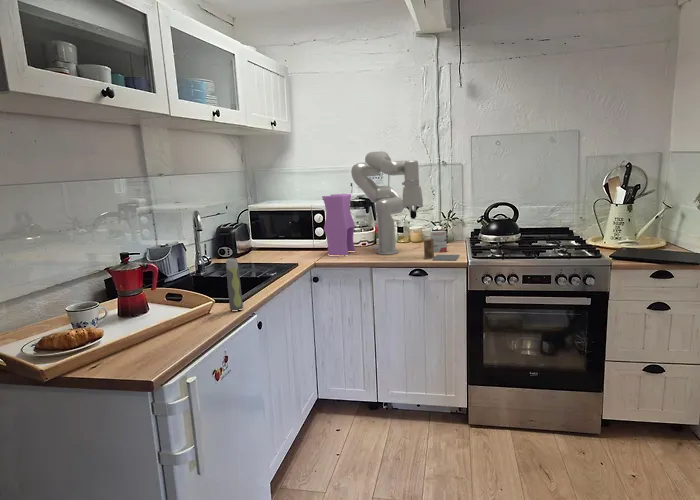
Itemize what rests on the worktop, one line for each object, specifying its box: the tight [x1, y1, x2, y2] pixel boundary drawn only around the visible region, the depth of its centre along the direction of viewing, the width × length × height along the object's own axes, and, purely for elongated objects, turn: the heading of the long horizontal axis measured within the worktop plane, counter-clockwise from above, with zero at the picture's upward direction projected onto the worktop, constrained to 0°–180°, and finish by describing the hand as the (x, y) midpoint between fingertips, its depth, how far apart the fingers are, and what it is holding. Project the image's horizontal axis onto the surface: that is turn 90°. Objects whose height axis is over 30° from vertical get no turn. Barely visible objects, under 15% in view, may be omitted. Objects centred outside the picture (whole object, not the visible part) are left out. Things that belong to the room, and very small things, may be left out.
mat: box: [432, 254, 460, 262], centre depth 253 cm, size 12×14×1 cm
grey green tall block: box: [225, 257, 244, 310], centre depth 178 cm, size 5×5×20 cm
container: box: [321, 193, 357, 256], centre depth 280 cm, size 14×14×35 cm
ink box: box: [430, 230, 448, 253], centre depth 272 cm, size 9×5×12 cm, turn 84°
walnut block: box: [423, 238, 435, 260], centre depth 256 cm, size 4×6×10 cm, turn 160°
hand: (413, 218), depth 255 cm, fingers closed
